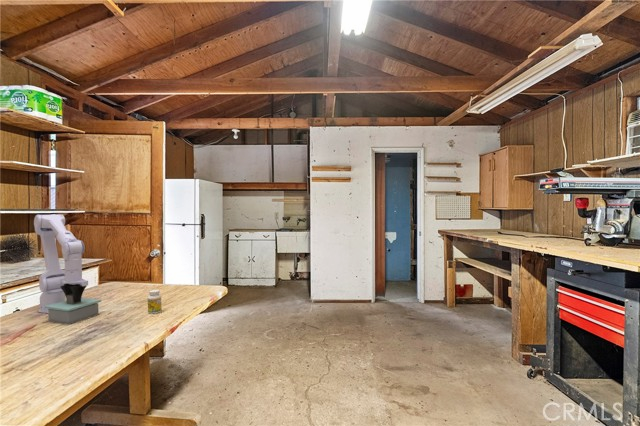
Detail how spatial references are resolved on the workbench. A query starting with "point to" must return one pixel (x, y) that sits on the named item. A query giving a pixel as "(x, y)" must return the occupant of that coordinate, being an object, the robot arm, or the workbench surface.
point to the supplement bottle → (154, 302)
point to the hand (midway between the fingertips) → (73, 301)
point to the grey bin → (73, 314)
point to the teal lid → (72, 304)
